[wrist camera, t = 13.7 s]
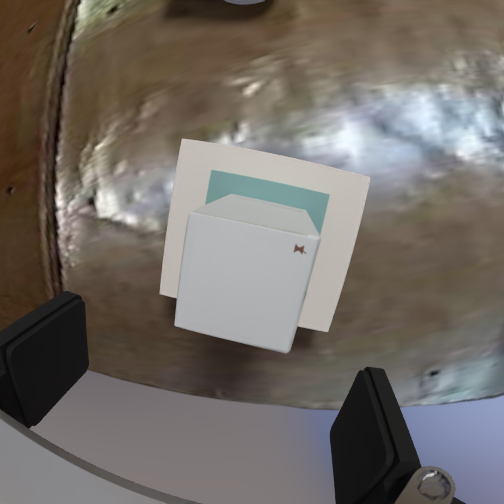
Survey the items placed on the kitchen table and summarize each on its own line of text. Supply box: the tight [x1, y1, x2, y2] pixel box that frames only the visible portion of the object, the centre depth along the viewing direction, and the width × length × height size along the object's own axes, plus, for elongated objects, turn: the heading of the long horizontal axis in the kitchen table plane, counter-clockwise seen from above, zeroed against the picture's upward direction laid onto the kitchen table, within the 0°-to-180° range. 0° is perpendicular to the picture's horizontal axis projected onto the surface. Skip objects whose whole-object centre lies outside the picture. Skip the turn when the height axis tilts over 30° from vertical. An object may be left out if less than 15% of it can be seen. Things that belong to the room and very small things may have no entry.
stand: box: [160, 139, 370, 332], centre depth 32 cm, size 18×16×5 cm
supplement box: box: [174, 194, 321, 353], centre depth 23 cm, size 7×7×13 cm
